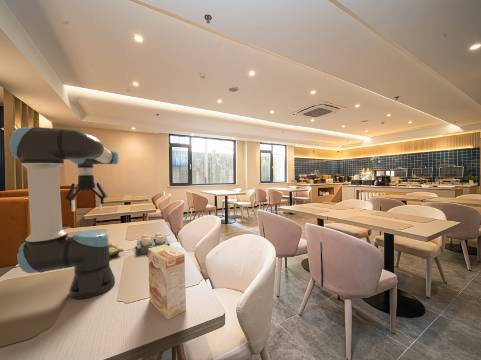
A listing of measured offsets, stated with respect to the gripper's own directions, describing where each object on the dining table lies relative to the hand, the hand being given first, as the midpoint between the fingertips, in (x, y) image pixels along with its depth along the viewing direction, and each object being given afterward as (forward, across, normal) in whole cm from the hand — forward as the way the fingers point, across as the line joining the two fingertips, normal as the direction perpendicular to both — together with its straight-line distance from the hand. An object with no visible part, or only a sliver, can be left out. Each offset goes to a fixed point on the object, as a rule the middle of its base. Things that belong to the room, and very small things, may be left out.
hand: (87, 210), depth 121 cm
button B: (+23, -33, +7) cm, 41 cm away
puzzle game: (+27, -10, +5) cm, 29 cm away
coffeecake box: (+27, -46, +69) cm, 87 cm away
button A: (+23, -40, +6) cm, 47 cm away
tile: (+26, -38, +14) cm, 48 cm away
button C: (+23, -39, -2) cm, 46 cm away
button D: (+23, -31, -1) cm, 39 cm away
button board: (+26, -36, +3) cm, 45 cm away
